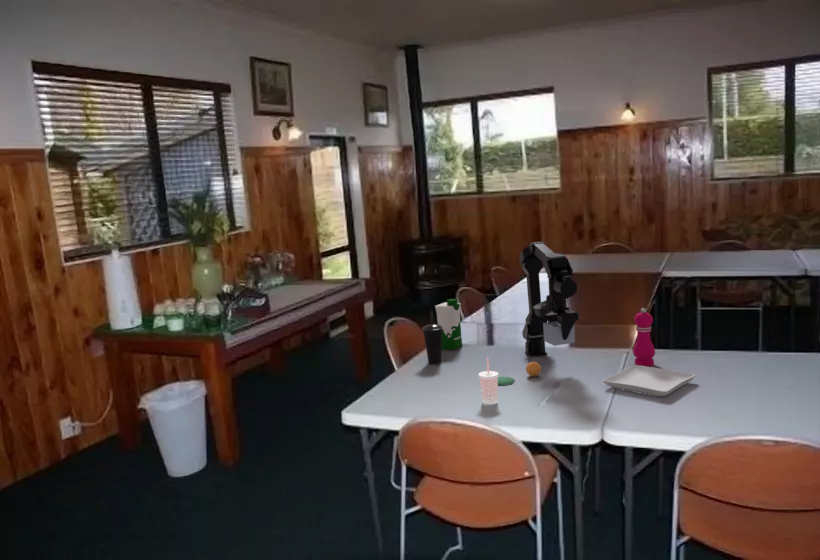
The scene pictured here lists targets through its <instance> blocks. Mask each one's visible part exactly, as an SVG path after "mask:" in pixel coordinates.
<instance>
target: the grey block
mask: <svg viewBox="0 0 820 560" xmlns="http://www.w3.org/2000/svg"><path fill="white" fill-rule="evenodd" d="M543 329H544V341H545V343H548V344H550V345H552V346H560V345H561V346H563V345H569V344H575V342H576V338H575V336H576V335H575V333H576V332H575V324H574V325H573V327H572V329H571V331H570V333H569V335H568V338H567V340H563V336H562V330H561V325H560V324H559V323H558V322H557V321H555V322H548V321H547V323H543Z"/></svg>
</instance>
